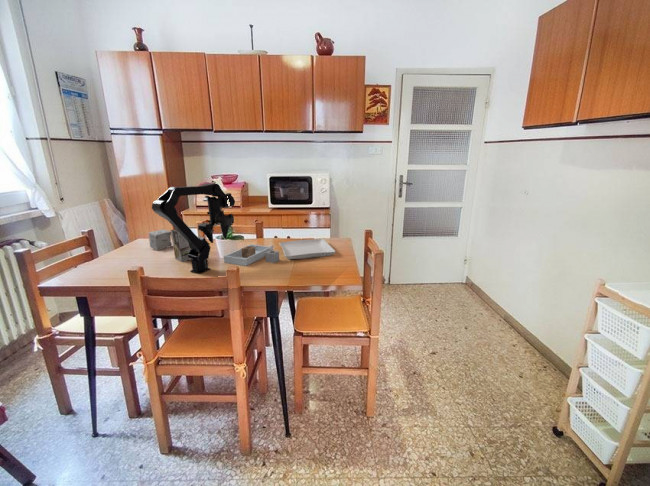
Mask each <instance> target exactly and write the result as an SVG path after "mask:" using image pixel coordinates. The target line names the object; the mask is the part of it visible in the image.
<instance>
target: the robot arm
mask: <svg viewBox="0 0 650 486" xmlns="http://www.w3.org/2000/svg"><path fill="white" fill-rule="evenodd" d="M195 195H204V196H205V197H204V198H203V200H202V201H203V202H207V206H208V207H207V208H208V211H207V212H206V214H207V215H208V217H209V219H208V221H207V222H203V223H198V225H197V229H198V231H200V232H202V233H203V234H204V235H205V237H206V238H207V239H208V241H209V242H210V243H209V242H208V241H207V239H206V238H205V237H201V236H197V235H196V234H195V233H194V231H193V230H192V229H191V228H190V227H189V226H188V224H186V223H185V221H184V220H183V219H182V218H181V217H180V216H179V215H178V211H177V208H176V205H177V204H178V202H179V199H180V197H182V196H183V197H184V196H195ZM227 196H228V198H227ZM228 199H229V202H230V206H228V204H227V200H228ZM235 204H236V200H235V198H234V197H233V196H232V193H231V192H230V193H229V192H228V193H225V192H224V191H223V189H222V188H221V186H220V184H218V183H213V182H212V183H211V182H207V183H202V184H200V185H195V186H193V185H191V186H170V187H169V188H168V189H167V190H166V191H165V192H163V194H161V195H160V196H159V197H158V198H157V199H156V200H154V201H153V202H152V204H151V210H152V211H153V212H154V213H155V214H156V215H157V216H159V217H161V218H163V219H165V220H166V221H167V222H168V223H169V224H171V226H173V228H174V229H176V230H177V231H178V232H179V233H180V234H181V235H182V236H183V237H184V238H185V239H186V240H187V241H188V243H189V247H190V248H191V250H190V251H189V253H188V254H187V255H188V257H189V258H191V260H190V262H191V268H192V269H190V273H195V274H203V273H205V272H207V271H209V270H210V269H211V267H209V264H208V259H209V256H210V251H211V246H210V244H213V243H214V235H213V233H214V231H215V230H214V227H216V226H217V227H218V226H219V227H220V229H221V232H222V236H223V238H224V239H227V235H228V232H229V228H230V227H231V226H233V224H234V223H235V217H234V214H232V213H229V214H225V212H224V211H223V210H222V209H225V208H226V209H227V208H231V207H234V206H235Z"/></svg>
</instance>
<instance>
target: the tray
mask: <svg viewBox="0 0 650 486" xmlns="http://www.w3.org/2000/svg"><path fill="white" fill-rule="evenodd" d="M247 246H252V247H255V253H256V254H254V255H252V256H250V257H248V258H242V250H241V248H239V249H237V250H235V251H231V252H230V253H228V254H225V255H223V262H224V263H226V264H230V265H236V266H243V267H248V266H250V265H251V264H254V263H256V262H257V261H260V260H261V259H264V258H265V253H266V252H268V251H270V246H266V245H258V244H248V245H247Z"/></svg>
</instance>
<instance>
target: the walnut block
mask: <svg viewBox="0 0 650 486" xmlns="http://www.w3.org/2000/svg"><path fill="white" fill-rule="evenodd" d="M240 249H241V250H242V258H248V257H250V256H252V255H254V254H256V253H255V247H252V246H248V245H245V246H243V247H241V248H240Z"/></svg>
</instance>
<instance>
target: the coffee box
mask: <svg viewBox="0 0 650 486" xmlns="http://www.w3.org/2000/svg"><path fill="white" fill-rule="evenodd" d="M169 231H170V232H171V235H170V238H171V243H172V247H173V248H172V249H173V251H174V259H175V258H176V259H175V260H177V261H179V262H187V261H191V260H192V259H191V258H189V257H188V255H187V254H188V253H189V251H190V250H191V248H190V247H189V243H188V241H187V240H186V239H185V238H184V237H183V236H182V235H181V234H180V233H179V232H178V231H177V230H176V229H175V228H174V229H170V230H169Z"/></svg>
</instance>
